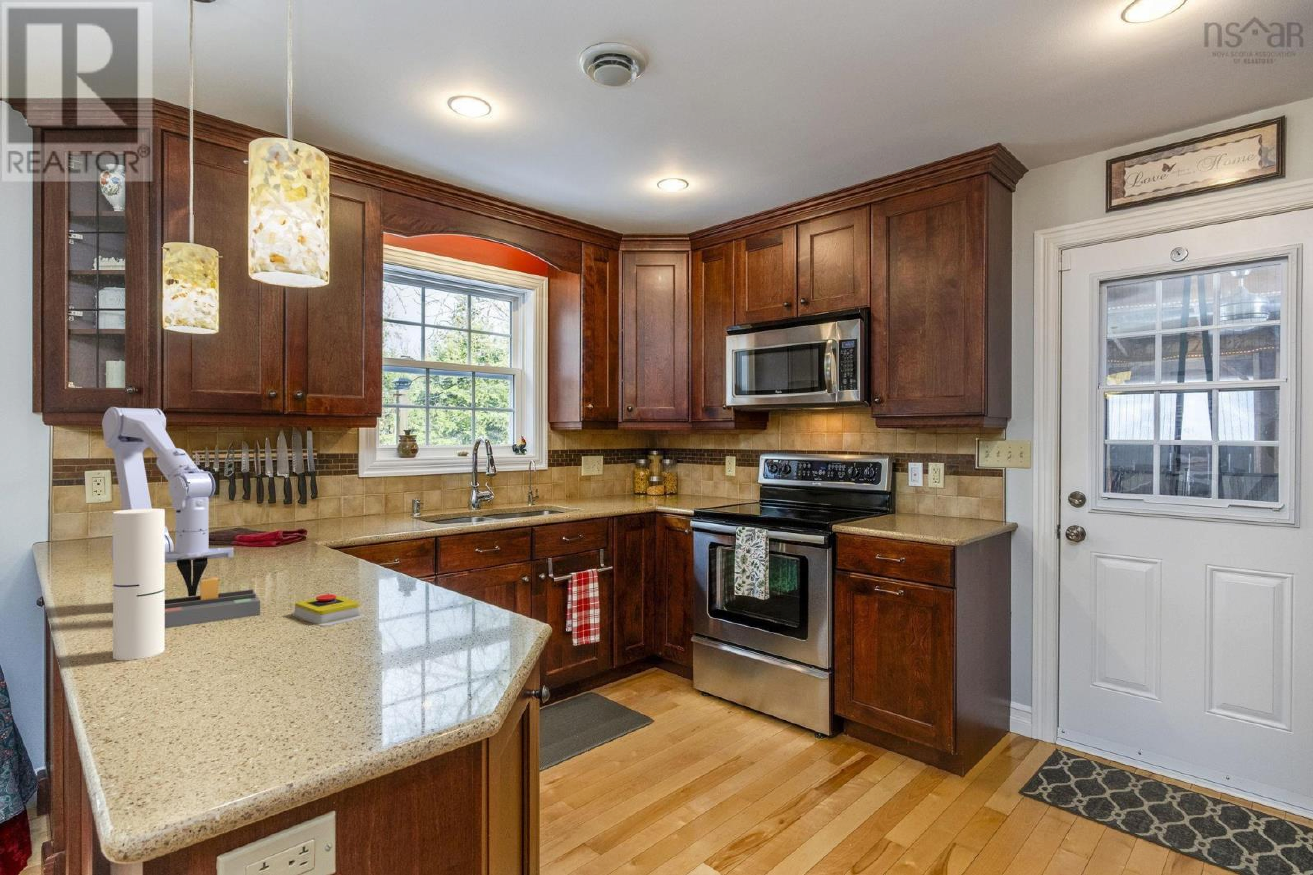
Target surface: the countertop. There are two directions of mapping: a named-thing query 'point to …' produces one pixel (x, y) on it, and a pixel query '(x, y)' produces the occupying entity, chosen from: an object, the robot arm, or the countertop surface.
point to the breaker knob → (208, 588)
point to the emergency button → (328, 610)
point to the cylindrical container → (138, 583)
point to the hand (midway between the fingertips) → (192, 595)
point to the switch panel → (211, 608)
